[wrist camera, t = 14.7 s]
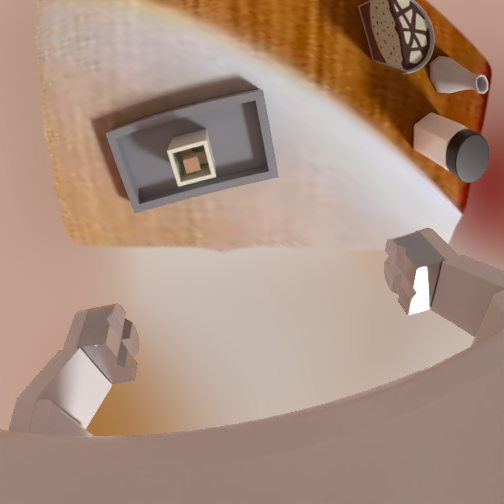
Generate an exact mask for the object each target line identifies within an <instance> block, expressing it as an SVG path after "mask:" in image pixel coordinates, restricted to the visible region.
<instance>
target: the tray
mask: <svg viewBox="0 0 504 504" xmlns="http://www.w3.org/2000/svg"><path fill="white" fill-rule="evenodd" d="M202 129H207V133H208V137H209V141H210V145H211V148H212V152H213V156H214V160H215V170H216V177H214V178H210V179H206V180H202V181H198V182H194V183H191V184H187V185H183V186H180V187H178V185H177V181H176V178H175V175H174V172H173V169H172V166H171V162H170V159H169V156H168V153H167V150H168V147H169V145H170V142H171V140H172V138H173V137H177V136H180V135H184V134H187V133H191V132H195V131H199V130H202ZM106 137H107V140H108V142H109V145H110V148H111V151H112V154H113V157H114V160H115V163H116V165H117V168H118V171H119V174H120V176H121V179H122V182H123V184H124V187H125V190H126V192H127V195H128V197H129V200H130V203H131V205H132V208H133V210H134V213H138V212H141V211H144V210H148V209H152V208H155V207H159V206H162V205H166V204H170V203H173V202H177V201H181V200H185V199H188V198H192V197H196V196H200V195H204V194H208V193H212V192H216V191H220V190H224V189H228V188H233V187H237V186H241V185H245V184H250V183H254V182H259V181H263V180H268V179H272V178H277V177H278V172H277V166H276V160H275V154H274V148H273V143H272V137H271V132H270V126H269V121H268V115H267V110H266V105H265V99H264V94H263V90H261V89H254V90H249V91H244V92H239V93H234V94H230V95H225V96H221V97H217V98H212V99H208V100H204V101H200V102H196V103H192V104H189V105H185V106H181V107H178V108H174V109H171V110H167V111H164V112H160V113H157V114H154V115H151V116H148V117H144V118H141V119H138V120H135V121H132V122H129V123H126V124H124V125H121V126H118V127H115V128H112V129H111V130H109V131H108V132H107V133H106Z"/></svg>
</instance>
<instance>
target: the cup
mask: <svg viewBox="0 0 504 504" xmlns="http://www.w3.org/2000/svg"><path fill="white" fill-rule="evenodd" d="M167 153H168V156H169V159H170V162H171V166H172V169H173V172H174V175H175V178H176V181H177V185H178V187H180V186H183V185H187V184H191V183H194V182H198V181H202V180H206V179H210V178H214V177H216V170H215V160H214V156H213V152H212V148H211V145H210V141H209V137H208V133H207V129H202V130H199V131H195V132H191V133H187V134H184V135H180V136H177V137H173V138H172V140H171V142H170V145H169V147H168V150H167Z"/></svg>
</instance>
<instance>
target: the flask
mask: <svg viewBox="0 0 504 504" xmlns="http://www.w3.org/2000/svg"><path fill="white" fill-rule="evenodd" d="M430 80H431V82H432V83H433V85H434V87H435V89H436V91H437V92H440V93H452V92H456V91H460V90H466V89H473V90H476V91H477V92H478V93H483V94H484V93H485V92H486V91H487V90H488V81H487V78H486V76H485V75H481V74H478V75H475V74H473V73H471V72H469V71H468V70H467V69H465V68H464V67H463V66H461V65H460V64H459V63H457V62H456V61H455V60H453V59H452V58H450V57H445V56H438V57H437V58H436V59H435V60H433V61H432V62H431V63H430Z"/></svg>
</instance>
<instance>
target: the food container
mask: <svg viewBox="0 0 504 504" xmlns="http://www.w3.org/2000/svg"><path fill="white" fill-rule="evenodd" d="M358 8H359V12H360V15H361V19H362V22H363V26H364V29H365V33H366V37H367V40H368V44H369V48H370V52H371V56H372V61H374V62H378V63H381V64H384V65H387V66H391V67H394V68H397V69H400V70H403V71H406V73H402V75H403V74H409V73H413V72H415V71H417V70H419V69H420V68H422V67H423V66H424V65H425V64H426V63H427V62H428V61H429V59H430V57H431V55H432V53H433V49H434V31H433V27H432V24H431V22H430V19H429V17H428V16H427V14H426V12H425V11H424V10H423V8H422V7H421V6H420V5H419V4H418V3H417V2H415V1H414V0H369V1H367V2H365V3H363V4H361V5H359V6H358Z"/></svg>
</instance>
